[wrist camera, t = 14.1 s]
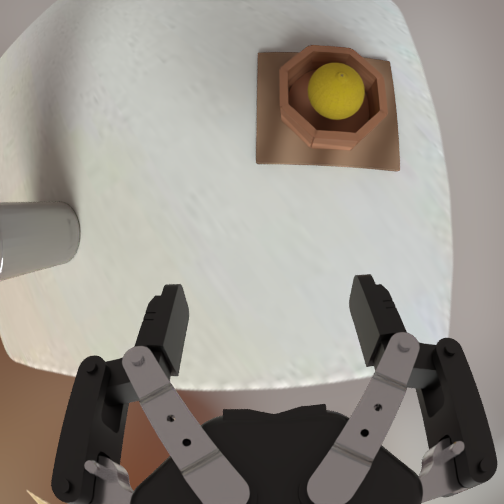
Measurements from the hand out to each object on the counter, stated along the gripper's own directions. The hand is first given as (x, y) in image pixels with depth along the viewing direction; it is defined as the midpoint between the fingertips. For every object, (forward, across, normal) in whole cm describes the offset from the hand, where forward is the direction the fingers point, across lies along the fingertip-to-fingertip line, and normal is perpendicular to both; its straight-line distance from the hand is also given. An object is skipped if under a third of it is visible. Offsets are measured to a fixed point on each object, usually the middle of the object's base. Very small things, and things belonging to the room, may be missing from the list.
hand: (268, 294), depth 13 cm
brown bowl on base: (+24, -8, -5) cm, 26 cm away
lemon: (+23, -8, -5) cm, 25 cm away
